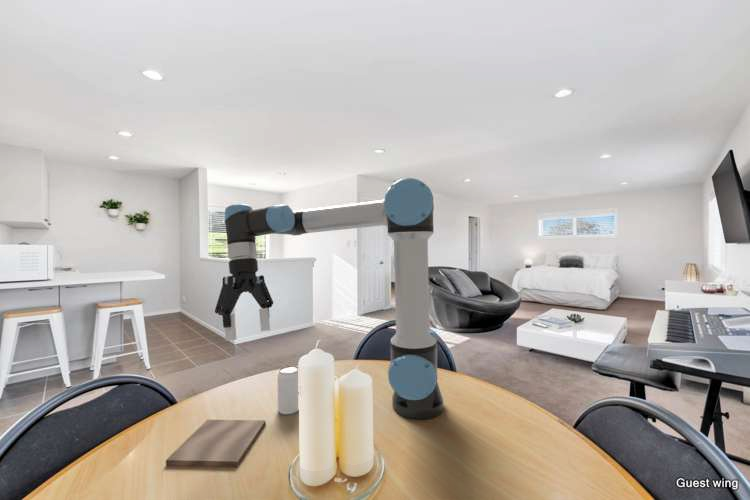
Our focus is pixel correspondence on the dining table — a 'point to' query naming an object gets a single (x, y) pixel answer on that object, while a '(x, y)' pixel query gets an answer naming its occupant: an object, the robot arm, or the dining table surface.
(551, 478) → the dining table surface
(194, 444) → the walnut board
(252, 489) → the dining table surface
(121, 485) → the dining table surface
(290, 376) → the can
